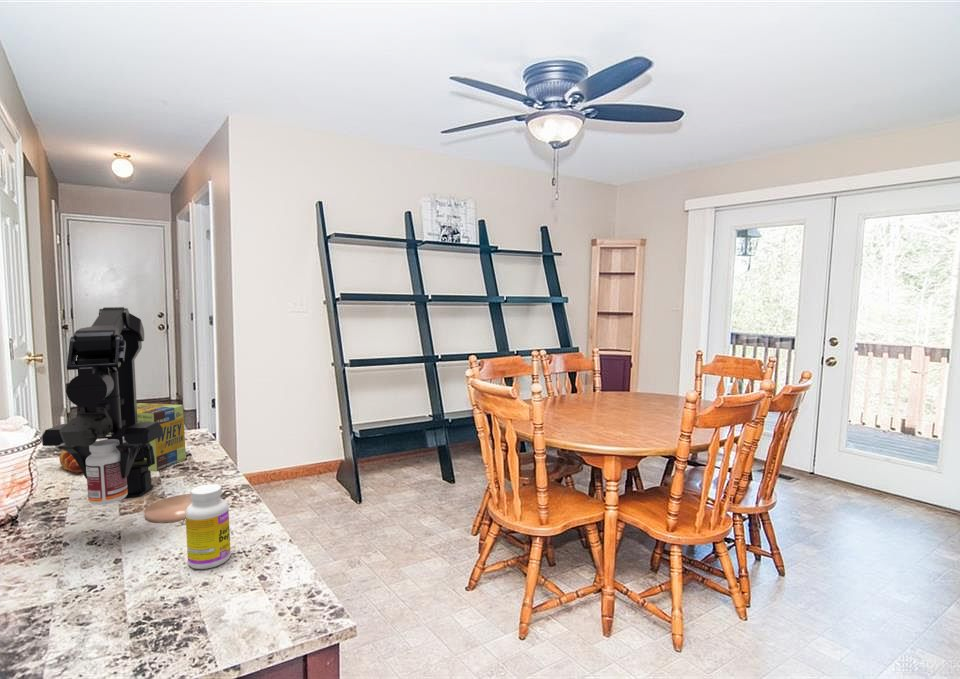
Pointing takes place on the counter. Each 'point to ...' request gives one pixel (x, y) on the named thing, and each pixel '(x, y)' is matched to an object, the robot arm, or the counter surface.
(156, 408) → the protein box
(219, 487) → the supplement bottle
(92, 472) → the pill bottle
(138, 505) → the counter surface
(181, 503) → the terracotta plate
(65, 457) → the croissant
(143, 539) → the counter surface
